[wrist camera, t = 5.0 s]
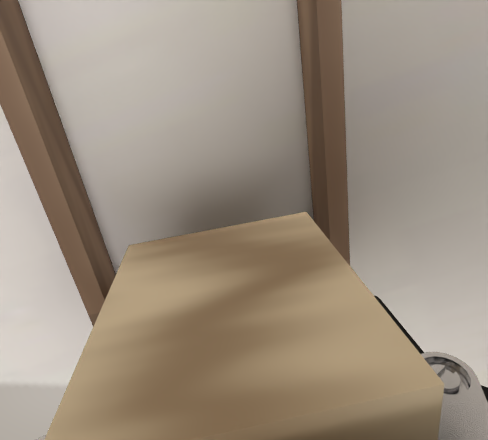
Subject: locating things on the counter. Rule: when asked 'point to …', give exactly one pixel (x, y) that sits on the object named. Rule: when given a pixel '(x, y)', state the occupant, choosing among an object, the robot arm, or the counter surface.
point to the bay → (69, 180)
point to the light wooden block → (246, 346)
